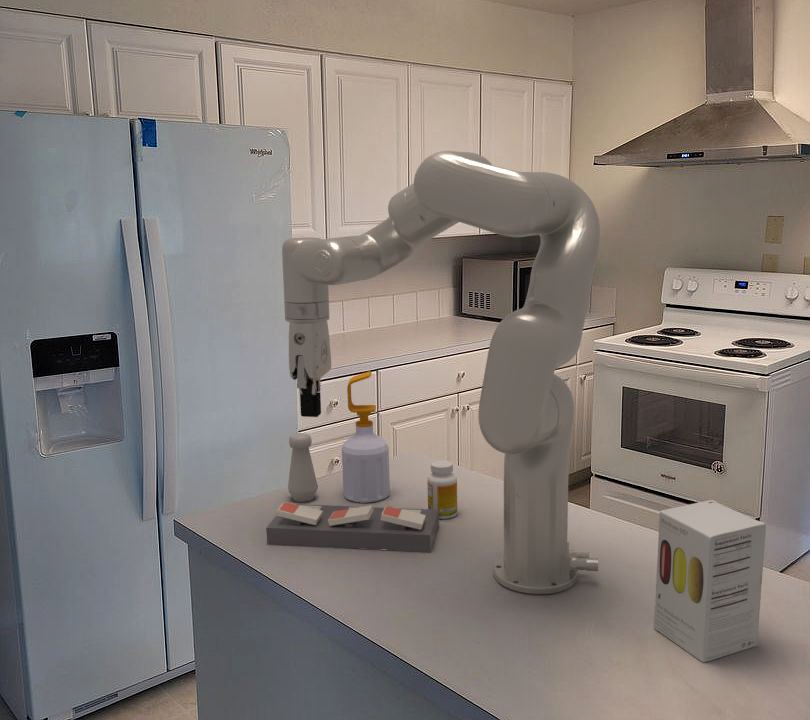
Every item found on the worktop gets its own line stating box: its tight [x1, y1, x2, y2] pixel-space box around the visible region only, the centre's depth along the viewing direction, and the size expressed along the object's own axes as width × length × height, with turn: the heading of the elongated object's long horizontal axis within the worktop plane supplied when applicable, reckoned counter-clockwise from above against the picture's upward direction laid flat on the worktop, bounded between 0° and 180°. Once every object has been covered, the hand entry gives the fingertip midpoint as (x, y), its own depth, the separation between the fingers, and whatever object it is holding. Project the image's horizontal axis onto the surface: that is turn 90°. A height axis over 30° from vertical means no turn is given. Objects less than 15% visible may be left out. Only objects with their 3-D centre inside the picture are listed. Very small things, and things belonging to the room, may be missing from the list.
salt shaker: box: [287, 432, 319, 503], centre depth 157 cm, size 6×6×13 cm
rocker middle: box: [328, 504, 374, 526], centre depth 138 cm, size 7×4×1 cm, turn 80°
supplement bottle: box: [427, 460, 458, 520], centre depth 148 cm, size 5×5×10 cm
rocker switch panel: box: [265, 503, 440, 553], centre depth 140 cm, size 28×11×4 cm, turn 80°
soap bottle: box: [341, 370, 391, 504], centre depth 157 cm, size 9×9×25 cm
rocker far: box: [275, 501, 323, 525], centre depth 139 cm, size 7×4×1 cm, turn 81°
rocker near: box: [380, 505, 426, 530], centre depth 136 cm, size 7×4×1 cm, turn 81°
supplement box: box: [653, 499, 767, 663], centre depth 104 cm, size 10×9×17 cm
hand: (311, 415), depth 141 cm, fingers closed
